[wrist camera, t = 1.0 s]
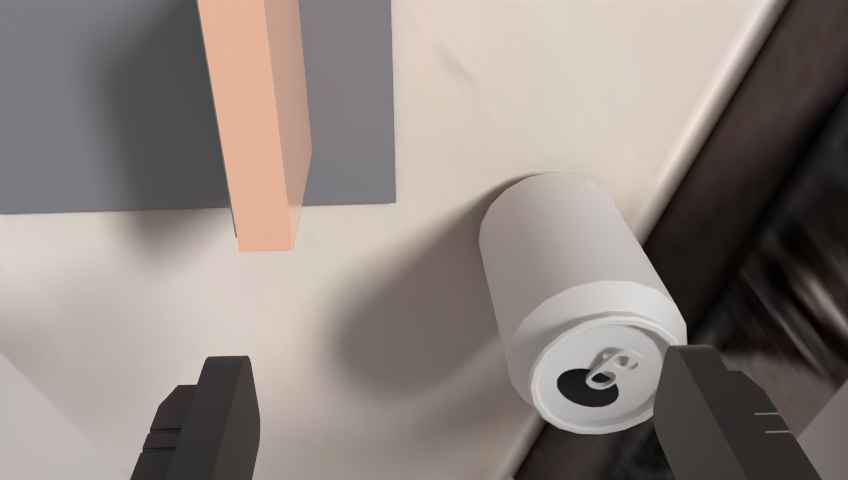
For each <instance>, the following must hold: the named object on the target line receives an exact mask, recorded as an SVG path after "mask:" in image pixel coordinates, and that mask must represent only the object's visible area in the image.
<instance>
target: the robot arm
mask: <svg viewBox="0 0 848 480" xmlns="http://www.w3.org/2000/svg"><path fill="white" fill-rule="evenodd" d="M653 418H654V425H655V430H656V433H657V436H658V439H659V441H660V443H661V446H662V448H663V450H664V453H665V455H666V457H667V460H668V462H669V464H670V467H671V469H672V471H673V474H674V476H675V478H676V480H822V479H821V478H820V476H819V475H818V473H817V471H816V470H815V468H814V467H813V465H812V464H811V462H810V461H809V459H808V457H807V456H806V454H805V453H804V451H803V450H802V448H801V447H800V445H799V444H798V442H797V440H796V439H795V437H794V436H793V434H790V433H789V428H788V426H787V425H786V423H785V422H784V420H783V419H782V417H781V416H778V411H777V409H776V408H775V406H774V405H773V403H772V402H771V400H770V399H769V397H768V395H767V394H766V392H765V391H764V389H762V388H761V387H760V386H759V385H757V384H756V383H755V382H754V381H753V380H751V379H750V378H749V377H748V376H746V375H745V374H744V373H743V372H742V371H728V370H727V368H726V366H725V365H724V363H723V361H722V360H721V358H720V356H719V355H718V353H717V351H716V350H715V348H714V347H713V346H711V345H672V346H669V347H668V349H667V351H666V354H665V357H664V362H663V366H662V370H661V374H660V379H659V383H658V387H657V391H656V396H655V400H654V406H653ZM259 440H260V414H259V408H258V402H257V396H256V390H255V384H254V379H253V373H252V367H251V362H250V359H249V357H248V356H216V357H208V358H207V359H206V360H205V363H204V365H203V368H202V371H201V374H200V377H199V380H198V383H197V385H178V386H177V387H176V388H175V389H174V390H173V391H172V392H171V394H170V395H169V396H168V397H167V398H166V399H165V400H164V401H163V402H162V403H161V404H160V405H159V407H158V410H157V412H156V415H155V417H154V420H153V423H152V425H151V428H150V434H148V435H147V438H146V441H145V443H144V446H143V452H142V453H140V456H139V459H138V461H137V464H136V466H135V469H134V471H133V474H132V476H131V479H130V480H252V476H253V471H254V466H255V462H256V457H257V452H258V447H259Z"/></svg>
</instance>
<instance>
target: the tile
mask: <svg viewBox="0 0 848 480" xmlns="http://www.w3.org/2000/svg"><path fill="white" fill-rule="evenodd" d="M196 3H197V9H198V15H199V21H200V27H201V33H202V39H203V45H204V51H205V57H206V63H207V69H208V75H209V81H210V87H211V93H212V99H213V105H214V111H215V117H216V123H217V129H218V135H219V141H220V146H221V152H222V158H223V164H224V170H225V176H226V182H227V188H228V194H229V200H230V206H231V212H232V218H233V224H234V230H235V236H236V238H237V240H238V246H239V252H257V251H289V250H293V249H294V244H295V238H296V233H297V228H298V223H299V217H300V212H301V207H302V202H303V197H304V191H305V186H306V181H307V176H308V170H309V165H310V160H311V155H312V143H311V132H310V122H309V111H308V100H307V89H306V79H305V68H304V57H303V46H302V36H301V25H300V14H299V4H298V0H196Z"/></svg>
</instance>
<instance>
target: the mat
mask: <svg viewBox="0 0 848 480" xmlns="http://www.w3.org/2000/svg"><path fill="white" fill-rule="evenodd" d="M298 4H299V14H300V25H301V36H302V46H303V57H304V68H305V79H306V89H307V100H308V111H309V122H310V132H311V143H312V155H311V160H310V165H309V170H308V176H307V181H306V186H305V191H304V197H303V202H302V205H334V204H369V203H396V185H395V146H394V107H393V68H392V28H391V0H298ZM227 207H231V206H230V200H229V194H228V188H227V182H226V176H225V170H224V164H223V158H222V152H221V146H220V141H219V135H218V129H217V123H216V117H215V111H214V105H213V99H212V93H211V87H210V81H209V75H208V69H207V63H206V57H205V51H204V45H203V39H202V33H201V27H200V21H199V15H198V9H197V3H196V0H0V214H15V213H51V212H86V211H121V210H157V209H192V208H227Z"/></svg>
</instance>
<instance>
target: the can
mask: <svg viewBox="0 0 848 480" xmlns="http://www.w3.org/2000/svg"><path fill="white" fill-rule="evenodd" d="M478 244H479V248H480V253H481V257H482V261H483V266H484V270H485V274H486V279H487V283H488V287H489V291H490V296H491V300H492V304H493V309H494V313H495V317H496V322H497V326H498V330H499V335H500V339H501V343H502V347H503V352H504V356H505V360H506V365H507V369H508V373H509V378H510V382H511V384H512V386H513V387H514V388H515V390H516V391H517V392H518V394H519V395H520V396H521V398H522V399H523V400H524V401H525V402H527V403H528V404H530V405H532V406H533V407H534V408H535V409H536V410H537V412H538V413H539V415H540V416H541V417H542V418H543V419H545V420H546V421H548V422H549V423H551V424H552V425H554V426H556V427H557V428H559V429H563V430H567V431H570V432H574V433H578V434H605V433H610V432H615V431H620V430H625V429H627V428H630V427H632V426H634V425H636V424H639V423H641V422H643V421H646V420H647V419H648V418H650V417H651V416H652V415H653V406H654V400H655V396H656V391H657V387H658V383H659V379H660V374H661V370H662V366H663V362H664V357H665V354H666V351H667V349H668V347H669V346H672V345H687V334H686V323H685V322H684V320H683V318H682V316H681V314H680V312H679V310H678V308H677V306H676V304H675V303H674V301H673V299H672V298H671V296H670V294H669V293H668V291H667V289H666V288H665V286H664V284H663V283H662V281H661V279H660V278H659V276H658V274H657V273H656V271H655V269H654V268H653V266H652V264H651V263H650V261H649V259H648V258H647V256H646V254H645V253H644V251H643V249H642V248H641V246H640V244H639V243H638V241H637V239H636V238H635V236H634V234H633V233H632V231H631V229H630V228H629V226H628V224H627V223H626V221H625V219H624V218H623V216H622V214H621V213H620V211H619V209H618V208H617V206H616V204H615V203H614V201H613V199H612V198H611V196H610V194H609V193H608V192H606V191H605V190H604V189H603V188H602V187H601V186H599V185H598V184H597V183H596V182H595V181H593V180H590V179H588V178H585V177H582V176H580V175H577V174H574V173H559V172H549V173H545V174H540V175H536V176H532V177H528V178H526V179H524V180H522V181H520V182H518V183H517V184H515V185H513V186H511V187H509V188H507V189H506V190H505V191H504V192H503V193H502V194H501V195H500V196H499V197H498V198H497V199H496V200H495V201H494V202H493V203H492V204H491V205H490V207H489V209H488V211H487V213H486V215H485V217H484V219H483V220H482V222H481V227H480V234H479V241H478Z"/></svg>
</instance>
